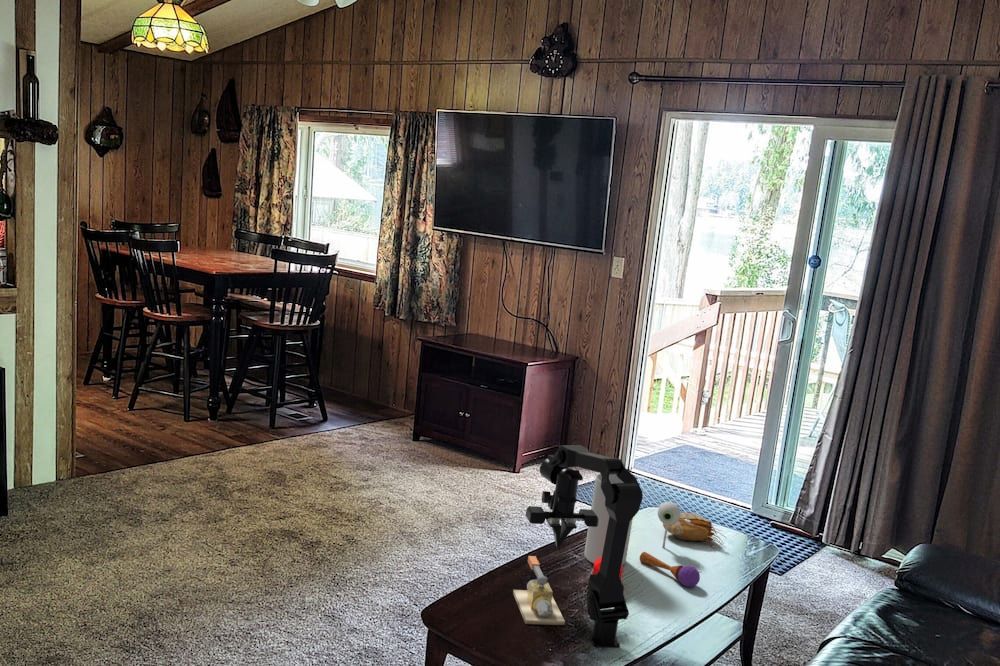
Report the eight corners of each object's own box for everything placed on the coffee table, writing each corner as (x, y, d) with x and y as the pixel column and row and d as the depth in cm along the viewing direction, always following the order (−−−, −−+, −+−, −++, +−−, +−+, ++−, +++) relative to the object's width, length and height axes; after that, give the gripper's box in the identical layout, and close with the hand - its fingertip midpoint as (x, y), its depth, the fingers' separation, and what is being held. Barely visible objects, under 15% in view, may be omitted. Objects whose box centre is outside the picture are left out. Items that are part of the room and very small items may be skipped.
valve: (554, 620, 215) (557, 596, 214) (534, 620, 214) (538, 595, 213) (541, 594, 228) (544, 571, 227) (523, 593, 227) (526, 570, 226)
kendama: (651, 547, 262) (705, 569, 246) (647, 566, 261) (701, 590, 246) (639, 547, 258) (693, 569, 242) (634, 566, 258) (689, 590, 242)
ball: (620, 581, 244) (624, 556, 242) (619, 594, 236) (623, 568, 235) (592, 576, 245) (596, 551, 244) (590, 588, 237) (594, 562, 236)
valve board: (564, 624, 214) (564, 621, 214) (525, 623, 212) (526, 620, 212) (549, 594, 230) (549, 591, 230) (513, 593, 228) (513, 589, 228)
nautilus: (733, 549, 280) (709, 561, 270) (678, 522, 295) (653, 533, 284) (738, 527, 278) (714, 538, 268) (682, 501, 293) (657, 511, 282)
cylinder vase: (625, 571, 251) (638, 490, 247) (582, 563, 252) (594, 482, 249) (625, 555, 263) (638, 477, 259) (585, 547, 265) (596, 470, 261)
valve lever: (547, 585, 219) (548, 579, 219) (537, 585, 219) (538, 579, 218) (535, 561, 232) (536, 556, 232) (526, 561, 232) (527, 555, 232)
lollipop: (650, 548, 270) (658, 503, 268) (653, 540, 277) (660, 496, 275) (673, 554, 269) (681, 508, 266) (675, 546, 275) (683, 501, 273)
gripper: (590, 482, 237) (582, 536, 240) (525, 478, 234) (517, 532, 236) (602, 497, 226) (594, 553, 229) (534, 493, 223) (526, 550, 225)
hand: (557, 546), depth 230 cm, fingers closed
